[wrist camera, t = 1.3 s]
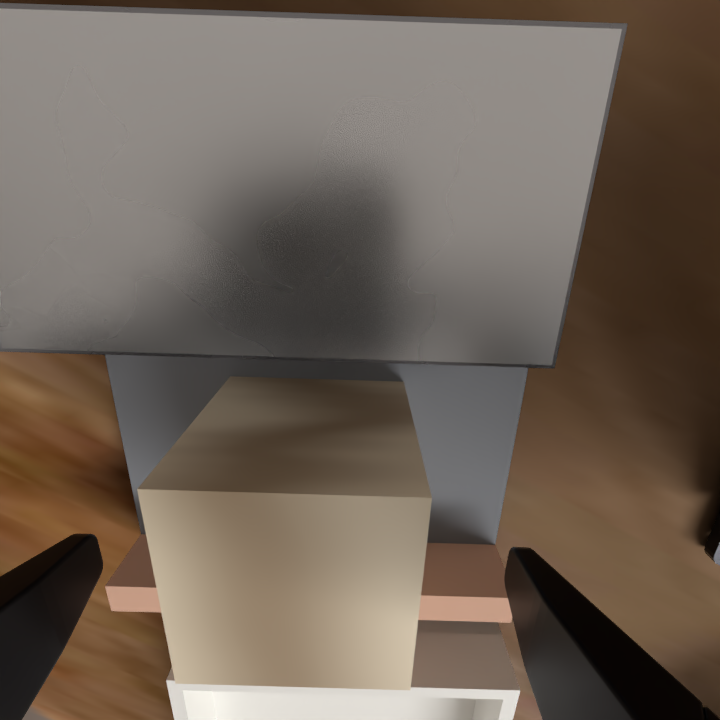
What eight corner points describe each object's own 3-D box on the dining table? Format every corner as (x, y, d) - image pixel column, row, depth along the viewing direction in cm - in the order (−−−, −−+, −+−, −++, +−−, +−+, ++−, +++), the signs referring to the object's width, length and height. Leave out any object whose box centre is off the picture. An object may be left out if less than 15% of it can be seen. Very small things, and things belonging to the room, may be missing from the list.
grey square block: (490, 122, 9) (627, 23, 4) (468, 299, 10) (554, 368, 6) (137, 111, 9) (-106, -2, 4) (162, 290, 10) (-1, 351, 6)
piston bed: (570, 64, 9) (649, 5, 7) (483, 551, 15) (510, 624, 12) (65, 47, 9) (-50, -18, 7) (157, 541, 15) (111, 613, 12)
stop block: (403, 381, 11) (431, 498, 7) (393, 520, 13) (410, 690, 8) (230, 376, 11) (137, 489, 7) (242, 515, 13) (175, 683, 8)
